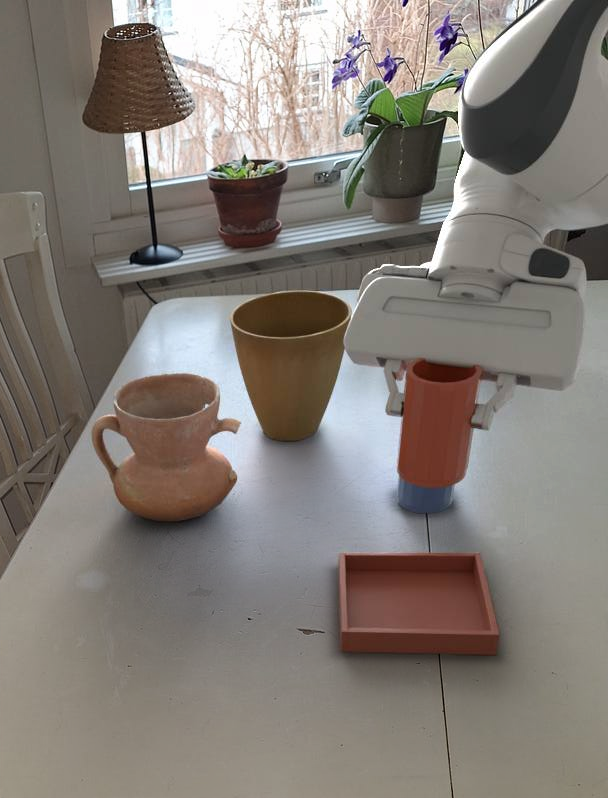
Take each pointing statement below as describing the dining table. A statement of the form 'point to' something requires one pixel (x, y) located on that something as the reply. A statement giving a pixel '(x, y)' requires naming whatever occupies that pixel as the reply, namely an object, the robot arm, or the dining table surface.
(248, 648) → the dining table surface
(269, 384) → the plant pot
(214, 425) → the ceramic jug
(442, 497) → the slate-blue cup
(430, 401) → the terracotta cup
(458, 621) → the clay-red tray
